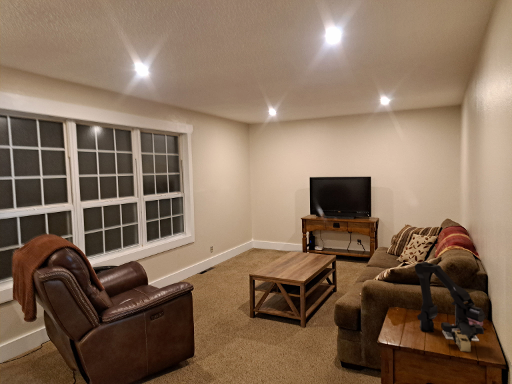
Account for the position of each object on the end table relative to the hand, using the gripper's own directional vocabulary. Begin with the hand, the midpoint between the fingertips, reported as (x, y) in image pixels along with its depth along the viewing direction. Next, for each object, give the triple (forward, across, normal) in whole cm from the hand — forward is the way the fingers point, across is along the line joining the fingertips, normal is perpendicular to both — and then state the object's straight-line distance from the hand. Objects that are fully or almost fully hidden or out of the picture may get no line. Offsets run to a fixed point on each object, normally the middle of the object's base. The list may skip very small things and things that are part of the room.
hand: (462, 343), depth 183 cm
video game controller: (+1, +12, +24) cm, 27 cm away
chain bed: (+1, +2, +10) cm, 11 cm away
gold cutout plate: (+1, 0, 0) cm, 1 cm away
